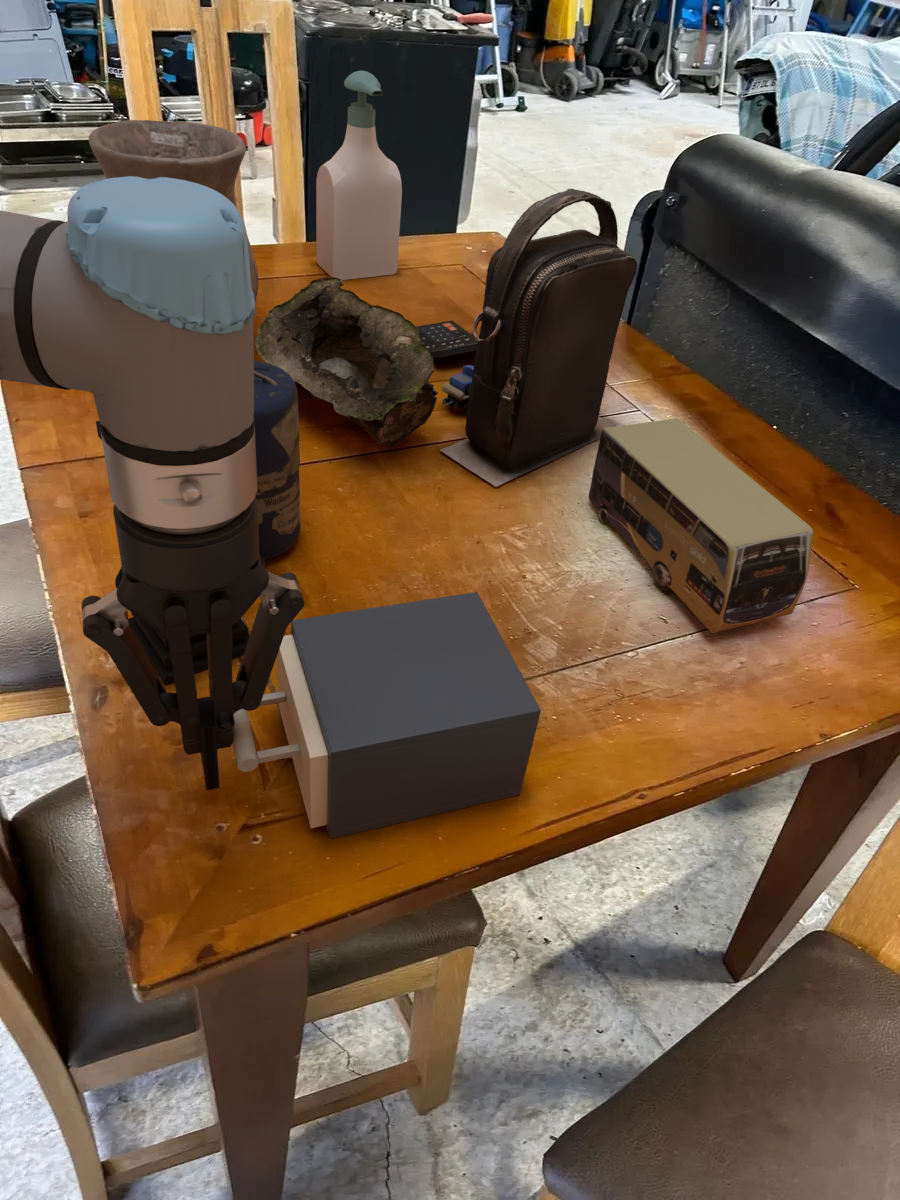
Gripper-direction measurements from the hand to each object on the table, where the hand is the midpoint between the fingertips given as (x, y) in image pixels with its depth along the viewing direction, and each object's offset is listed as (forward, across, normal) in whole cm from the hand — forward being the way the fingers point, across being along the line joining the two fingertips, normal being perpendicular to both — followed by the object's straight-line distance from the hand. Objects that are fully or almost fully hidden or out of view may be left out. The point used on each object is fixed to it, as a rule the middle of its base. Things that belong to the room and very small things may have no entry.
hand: (211, 774), depth 63 cm
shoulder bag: (+1, +43, +41) cm, 60 cm away
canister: (+2, +8, +29) cm, 30 cm away
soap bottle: (+1, +35, +93) cm, 100 cm away
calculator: (+1, +40, +66) cm, 77 cm away
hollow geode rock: (+1, +23, +51) cm, 56 cm away
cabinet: (+2, +14, 0) cm, 15 cm away
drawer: (+1, +11, 0) cm, 11 cm away
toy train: (+1, +44, +53) cm, 69 cm away
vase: (+2, +6, +70) cm, 70 cm away
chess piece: (+2, 0, +16) cm, 16 cm away
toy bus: (+1, +49, +17) cm, 52 cm away
